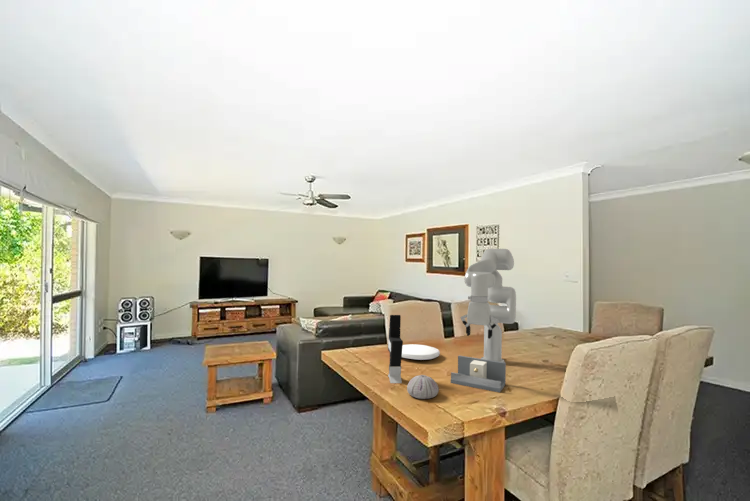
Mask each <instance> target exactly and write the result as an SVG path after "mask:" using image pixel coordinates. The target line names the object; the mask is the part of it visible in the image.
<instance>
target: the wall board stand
mask: <svg viewBox="0 0 750 501" xmlns="http://www.w3.org/2000/svg"><path fill="white" fill-rule="evenodd" d="M473 360H478V361H484V362H487V379H486V378H481V377H475V376H470V363H471V362H472V361H473ZM506 363H507V362H505V361H504V362H498V361H491V360H485V359H481V358H478V357H472V356H465V355H464V356H463V355H460V354H458V356H457V372H452V371H451V372H450V384H453V385H454V384H455V385H459V386H464V387H469V388H473V389H474V388H475V389H479V390H485V391H489V392H490V391H491V392H496V393H499V394H500V393H501V392H502V391H503V390H504V387H505V386H506V378H507V377H506V376H507V375H506V372H507V369H506V368H507V367H506V365H507V364H506Z"/></svg>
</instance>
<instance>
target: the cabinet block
mask: <svg viewBox="0 0 750 501" xmlns="http://www.w3.org/2000/svg"><path fill="white" fill-rule="evenodd" d="M470 376H475V377H481V378H486V379H487V362H484V361H478V360H473V361H472V362H471V363H470Z"/></svg>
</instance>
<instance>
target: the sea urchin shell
mask: <svg viewBox="0 0 750 501" xmlns="http://www.w3.org/2000/svg"><path fill="white" fill-rule="evenodd" d="M406 386H407V387H406V390H407V391H406V392H407V394H409V395H410V396H411V397H413V398H415V399H418V400H425V399H426V400H429V399H432V398H433V399H434V397H436V396H437V395H438V394H439V392H440V391H439V390H440V387H439V385H438V383H437V382H436V381H435V380H434V379H433V377H430V376H428V375H426V374H420V375H415V376H413V377H412V378H411V379H410V380H409V382H408V384H407V385H406Z"/></svg>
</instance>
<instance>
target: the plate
mask: <svg viewBox="0 0 750 501" xmlns="http://www.w3.org/2000/svg"><path fill="white" fill-rule="evenodd" d="M440 352H441V351H440V349H438V348H436V347H433V346H430V345H426V344H415V343H414V344H412V343H411V344H403V346H402V358H404V359H411V360H416V361H419V360H420V361H422V360H423V361H424V360H425V361H426V360H432V359H437V357H439V356H440V354H441V353H440Z"/></svg>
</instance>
